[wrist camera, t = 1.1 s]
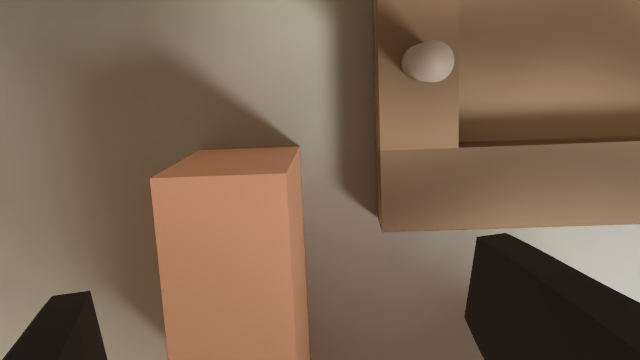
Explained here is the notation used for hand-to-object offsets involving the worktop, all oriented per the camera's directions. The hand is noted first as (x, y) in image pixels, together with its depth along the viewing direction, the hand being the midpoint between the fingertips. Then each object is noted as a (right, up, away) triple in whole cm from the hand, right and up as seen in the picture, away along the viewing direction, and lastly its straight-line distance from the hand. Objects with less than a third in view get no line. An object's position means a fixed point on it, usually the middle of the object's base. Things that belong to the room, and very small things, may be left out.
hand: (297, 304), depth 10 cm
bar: (-2, -1, +13) cm, 13 cm away
